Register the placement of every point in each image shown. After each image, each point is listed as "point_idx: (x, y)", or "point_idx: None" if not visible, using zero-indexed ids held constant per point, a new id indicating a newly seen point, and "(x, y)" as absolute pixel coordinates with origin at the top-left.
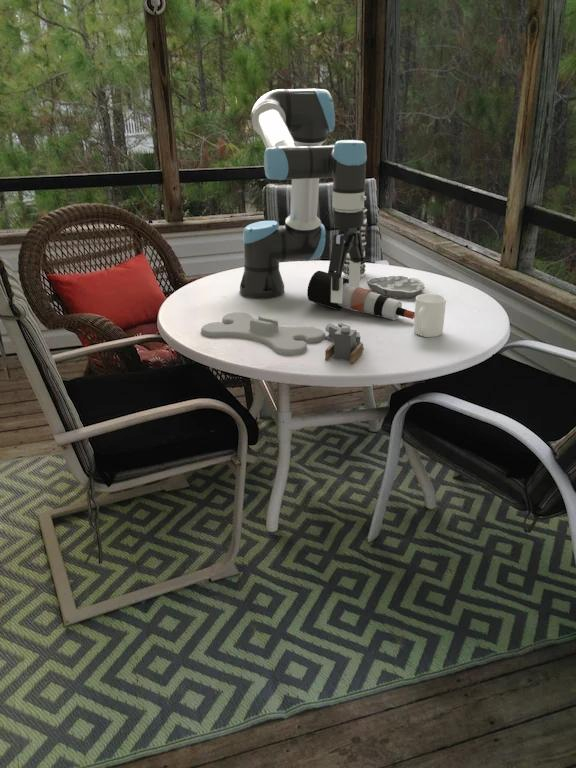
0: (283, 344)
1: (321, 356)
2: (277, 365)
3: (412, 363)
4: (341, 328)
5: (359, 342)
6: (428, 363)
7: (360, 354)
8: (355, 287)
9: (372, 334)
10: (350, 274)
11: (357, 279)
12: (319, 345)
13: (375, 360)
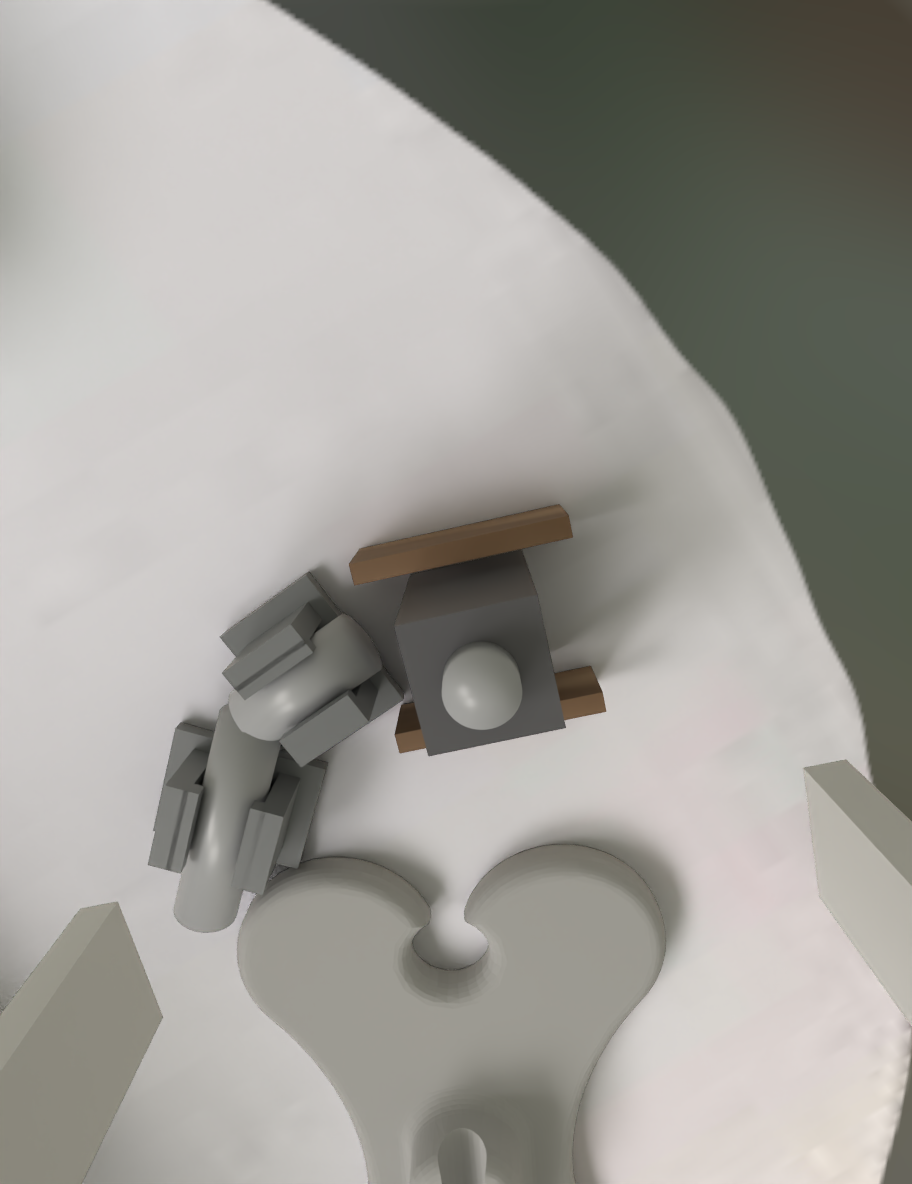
0: (600, 976)
1: (557, 730)
2: (813, 856)
3: (300, 157)
4: (517, 709)
5: (304, 615)
6: (224, 47)
7: (403, 540)
8: (130, 939)
9: (35, 660)
10: (68, 1172)
11: (64, 1010)
12: (414, 828)
13: (412, 414)
